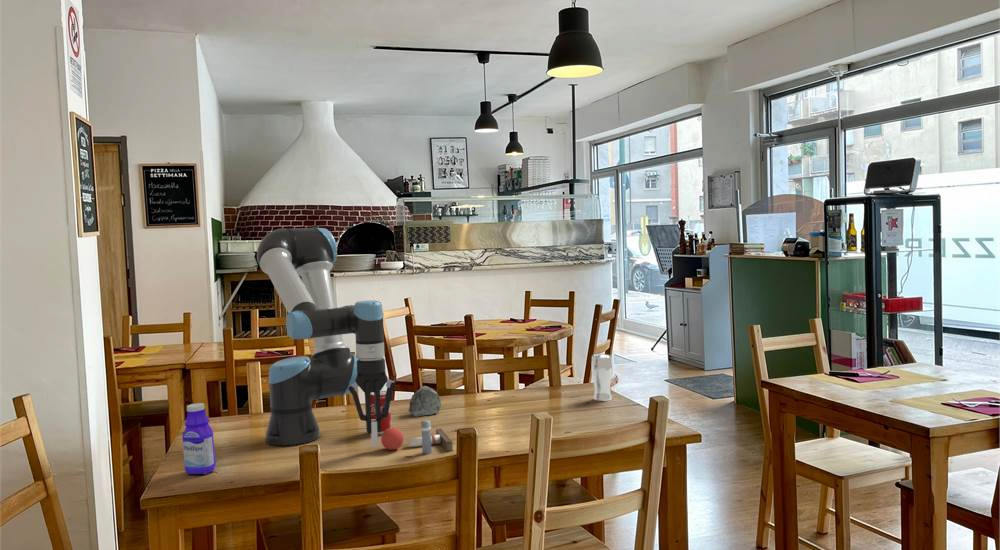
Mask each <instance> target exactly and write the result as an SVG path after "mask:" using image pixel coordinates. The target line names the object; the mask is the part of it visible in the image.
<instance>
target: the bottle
mask: <svg viewBox="0 0 1000 550" xmlns="http://www.w3.org/2000/svg"><path fill="white" fill-rule="evenodd" d="M186 411H187V415H186V419H185V422H184V426H185V429H184V431H183V433H182V439H181V440H182V449H183V450H182V451H183V464H184V470H185V473H186V474H187V473H188V474H187V475H189V474H204V473H208V472H210V473H211V471H212V470H213V471H214V470H215V468H216V457H215V455H216V454H215V453H216V452H215V444H214V443H215V442H214V441H215V440H214V431H213V429H212V427H211V426H210V424H209V423H210V419H209V417H208V415H207V414H206V407H205V403H202V402H198V403H191V404H188V405H187V406H186ZM213 471H212V472H213ZM208 474H209V473H208ZM204 475H205V474H204Z"/></svg>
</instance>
